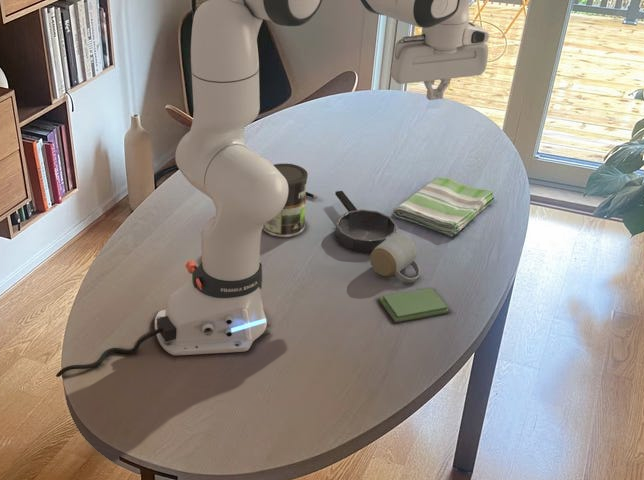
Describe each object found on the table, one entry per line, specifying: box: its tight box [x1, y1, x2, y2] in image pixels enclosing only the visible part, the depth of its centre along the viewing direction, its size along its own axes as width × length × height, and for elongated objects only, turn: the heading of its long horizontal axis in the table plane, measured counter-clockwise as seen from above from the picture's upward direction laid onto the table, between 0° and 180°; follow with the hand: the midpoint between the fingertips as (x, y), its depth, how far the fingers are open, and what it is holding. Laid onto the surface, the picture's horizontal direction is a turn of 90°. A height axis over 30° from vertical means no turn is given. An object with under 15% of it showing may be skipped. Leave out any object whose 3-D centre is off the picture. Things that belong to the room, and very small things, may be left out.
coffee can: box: [262, 163, 309, 238], centre depth 192 cm, size 10×10×14 cm
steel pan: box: [334, 190, 398, 255], centre depth 195 cm, size 14×24×3 cm, turn 17°
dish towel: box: [392, 176, 495, 237], centre depth 202 cm, size 17×23×4 cm
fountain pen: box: [306, 191, 319, 199], centre depth 209 cm, size 14×1×2 cm, turn 55°
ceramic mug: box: [369, 232, 421, 284], centre depth 178 cm, size 11×8×8 cm
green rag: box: [379, 287, 450, 323], centre depth 171 cm, size 12×8×1 cm, turn 107°
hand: (434, 98), depth 172 cm, fingers closed
